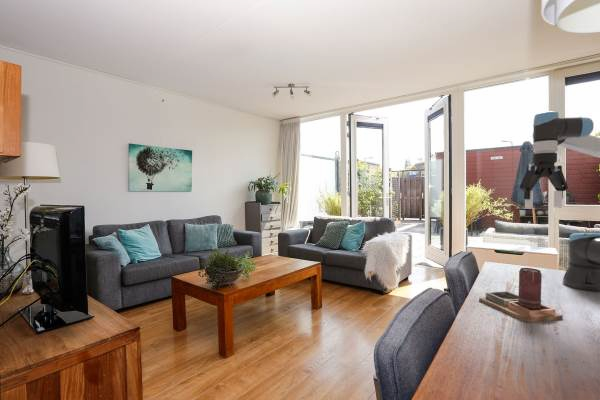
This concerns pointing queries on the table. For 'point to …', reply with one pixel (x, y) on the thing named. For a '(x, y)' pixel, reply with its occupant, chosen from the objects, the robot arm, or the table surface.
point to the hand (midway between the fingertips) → (543, 207)
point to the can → (530, 288)
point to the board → (518, 307)
